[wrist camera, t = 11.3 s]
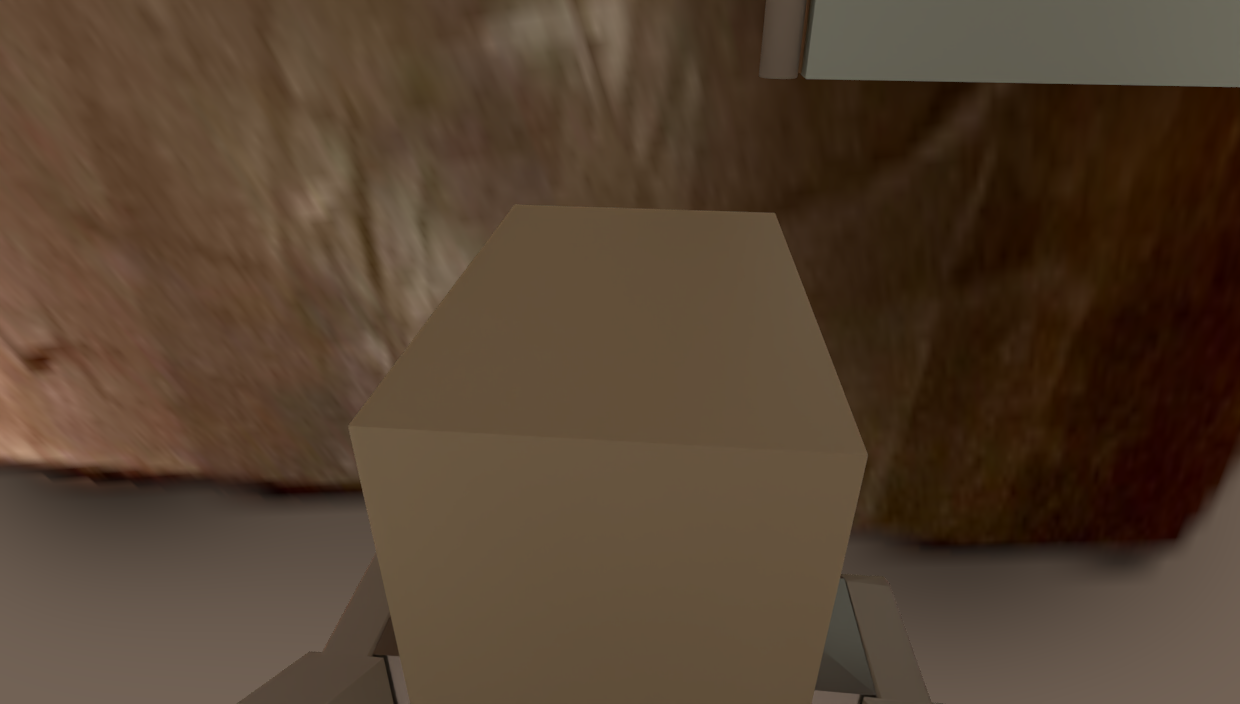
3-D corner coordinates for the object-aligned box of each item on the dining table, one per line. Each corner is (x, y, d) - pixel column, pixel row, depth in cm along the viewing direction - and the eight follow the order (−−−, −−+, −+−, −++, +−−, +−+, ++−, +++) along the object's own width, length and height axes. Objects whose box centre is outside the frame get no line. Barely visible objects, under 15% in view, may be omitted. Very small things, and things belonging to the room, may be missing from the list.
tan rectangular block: (547, 694, 12) (483, 1030, 8) (514, 204, 8) (346, 425, 4) (715, 708, 12) (730, 1059, 8) (774, 212, 8) (866, 455, 4)
